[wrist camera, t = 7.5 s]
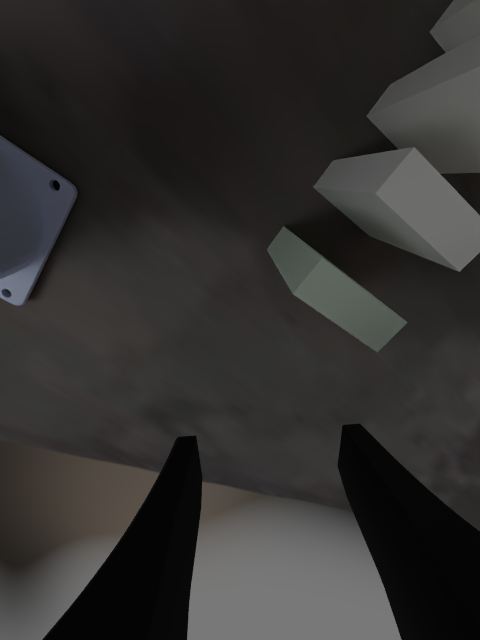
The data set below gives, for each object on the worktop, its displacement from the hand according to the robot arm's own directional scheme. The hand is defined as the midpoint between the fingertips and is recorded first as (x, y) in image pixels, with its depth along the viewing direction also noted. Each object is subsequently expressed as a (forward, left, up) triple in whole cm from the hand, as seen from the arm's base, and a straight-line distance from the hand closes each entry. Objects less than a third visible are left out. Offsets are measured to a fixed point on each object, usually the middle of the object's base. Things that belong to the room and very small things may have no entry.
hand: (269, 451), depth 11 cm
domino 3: (0, +5, -10) cm, 11 cm away
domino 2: (0, +10, -10) cm, 14 cm away
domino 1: (0, +14, -10) cm, 17 cm away
